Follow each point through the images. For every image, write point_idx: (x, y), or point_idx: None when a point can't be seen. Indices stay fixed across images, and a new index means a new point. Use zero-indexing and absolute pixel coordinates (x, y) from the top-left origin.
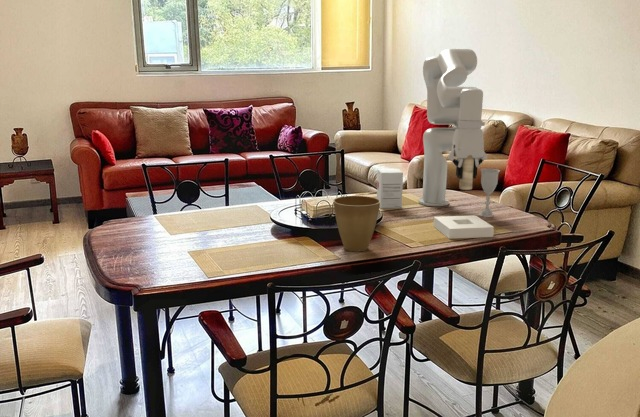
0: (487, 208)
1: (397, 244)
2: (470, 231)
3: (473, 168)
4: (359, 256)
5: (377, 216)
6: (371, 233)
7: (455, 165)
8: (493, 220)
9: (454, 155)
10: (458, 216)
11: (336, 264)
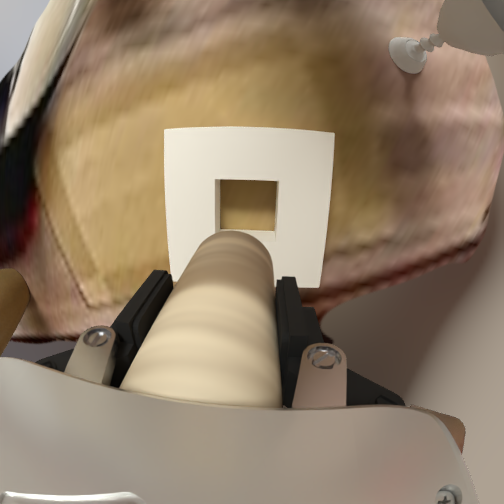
0: (418, 52)
1: (66, 282)
2: None
3: None
4: (29, 322)
5: (4, 339)
6: (17, 325)
7: (89, 333)
8: (405, 109)
9: (10, 367)
10: (260, 135)
11: (17, 338)
